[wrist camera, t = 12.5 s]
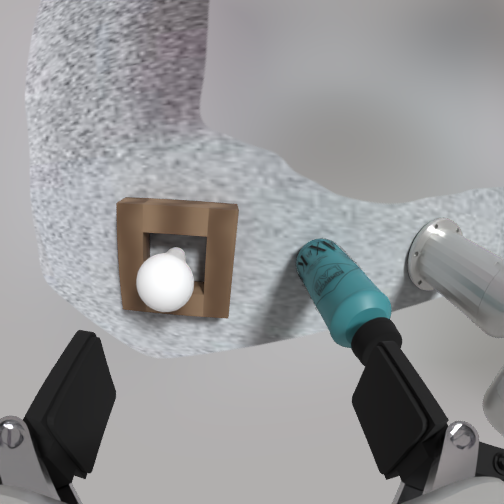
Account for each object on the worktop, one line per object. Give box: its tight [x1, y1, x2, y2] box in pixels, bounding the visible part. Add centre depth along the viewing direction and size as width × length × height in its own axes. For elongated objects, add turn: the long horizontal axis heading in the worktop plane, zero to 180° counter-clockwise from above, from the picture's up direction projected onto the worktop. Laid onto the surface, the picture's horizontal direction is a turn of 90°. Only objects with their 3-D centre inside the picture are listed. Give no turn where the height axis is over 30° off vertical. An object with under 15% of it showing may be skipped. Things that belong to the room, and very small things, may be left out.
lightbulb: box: [136, 247, 194, 312], centre depth 31 cm, size 6×6×11 cm
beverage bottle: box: [296, 239, 402, 366], centre depth 29 cm, size 6×7×20 cm
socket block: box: [117, 197, 239, 318], centre depth 35 cm, size 14×14×4 cm
